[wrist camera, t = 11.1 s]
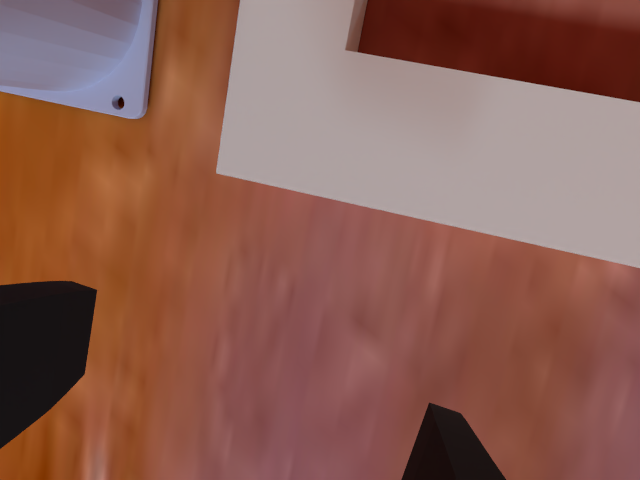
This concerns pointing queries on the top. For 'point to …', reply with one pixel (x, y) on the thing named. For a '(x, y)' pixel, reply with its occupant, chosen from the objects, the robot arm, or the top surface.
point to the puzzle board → (427, 135)
